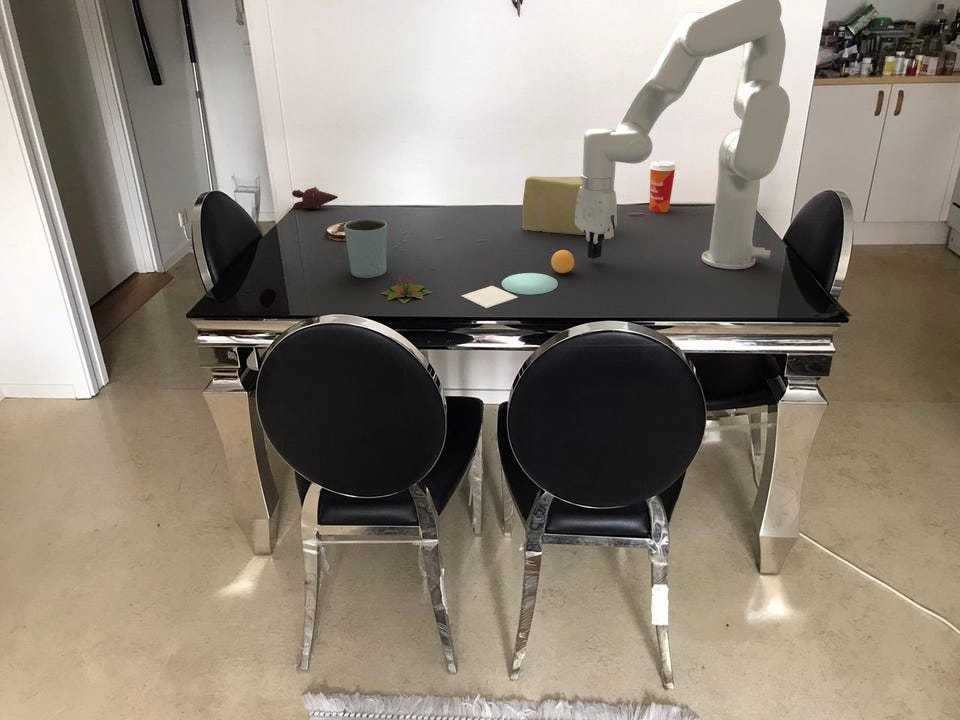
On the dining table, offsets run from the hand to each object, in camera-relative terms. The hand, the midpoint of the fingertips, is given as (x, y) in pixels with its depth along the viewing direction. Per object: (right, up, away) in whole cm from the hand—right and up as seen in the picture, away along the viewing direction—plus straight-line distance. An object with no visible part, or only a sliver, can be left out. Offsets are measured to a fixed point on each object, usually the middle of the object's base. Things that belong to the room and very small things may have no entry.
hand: (594, 256), depth 184 cm
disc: (-17, -8, -11) cm, 21 cm away
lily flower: (-45, -11, -14) cm, 48 cm away
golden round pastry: (-65, +9, +26) cm, 71 cm away
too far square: (-26, -11, -17) cm, 33 cm away
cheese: (-5, +10, +24) cm, 27 cm away
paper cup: (+25, +19, +40) cm, 51 cm away
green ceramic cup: (-55, -4, -1) cm, 56 cm away
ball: (-8, -2, -6) cm, 11 cm away
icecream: (-80, +22, +50) cm, 97 cm away
